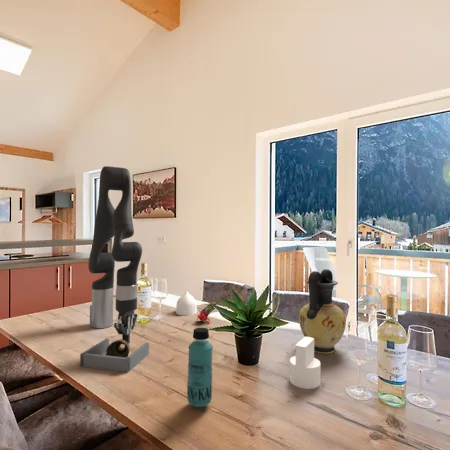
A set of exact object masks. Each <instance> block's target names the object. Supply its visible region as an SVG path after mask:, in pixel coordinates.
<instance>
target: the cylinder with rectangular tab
mask: <svg viewBox="0 0 450 450" xmlns="http://www.w3.org/2000/svg"><path fill="white" fill-rule="evenodd" d="M321 368H322V367H321V361H320V360H319V359H318V358H316V357H315V352H314V338H311V337H305V336H304V337H303V338H302V339H300V340H299V341H298V342H297V343H296V344H295V355H294V356H291V357H290V358H289V382H290V384H292V385H293V386H295V387H297V388H300V389H303V390H305V389H306V390H312V389H313V390H314V389H317V388H318V387H320V385H321Z"/></svg>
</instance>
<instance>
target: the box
mask: <svg viewBox="0 0 450 450" xmlns="http://www.w3.org/2000/svg"><path fill="white" fill-rule="evenodd" d="M109 345H110V339H109V338H105V339H103V340H101V341H100V342H98V343H97V344H95V345H93V346H92V347H90V348H88V349H87V350H85V351H83V352H80V355H79V357H80V359H79V360H80V361H79V363H80V364H79V365H80V367H81V368H82V367H83V368H90V369H92V368H93V369H99V370H105V371H106V370H107V371H115V372H124V373H129V372H130V371H131V370H132V369H134V368H135V367H136V366H137V365H138V364H139V363H141V361H142V360H144V359H145V358H146V357H147V356H148V355H149V354H150V342H144V344H142V345H141V346H140V347H138V348H137V349H135V350H134V351H133V352H132V353H131V354H128V357H127V358H125V357H116V356H108V355H106V353H107V352H106V350H107V347H108V346H109ZM104 353H105V354H104Z"/></svg>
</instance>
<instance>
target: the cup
mask: <svg viewBox="0 0 450 450" xmlns="http://www.w3.org/2000/svg"><path fill="white" fill-rule="evenodd" d="M123 344H124V345H123ZM121 345H123V346H124V347H123V348H121ZM130 349H131V347H130V343H129V344H128V342H127V341H125V340H122V338H121V339H120V338H119V339H117V340H115V341H113V342H110V343H109V346H108V347H107V350H106V352H105V355H108V356H116V357H125V358H127V357H128V356H129V355H130Z"/></svg>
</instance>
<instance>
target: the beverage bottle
mask: <svg viewBox="0 0 450 450" xmlns="http://www.w3.org/2000/svg"><path fill="white" fill-rule="evenodd" d="M209 337H210V334H209V329H208V328H207V327H195V328H194V329H193V334H192V338H193V339H194V340H193V341H192V342H191V343H189V345H188V364H187V369H188V370H187V383H186V384H187V385H186V387H187V389H186V394H187V396H186V398H187V402H188V403H189V404H190V405H191V406H192V407H198V408H200V407H205V406H207V405H209V404H210V403H211V401H212V398H213V349H214V347H213V345H212V343H211V342H209V341H208V340H207V339H209Z"/></svg>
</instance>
